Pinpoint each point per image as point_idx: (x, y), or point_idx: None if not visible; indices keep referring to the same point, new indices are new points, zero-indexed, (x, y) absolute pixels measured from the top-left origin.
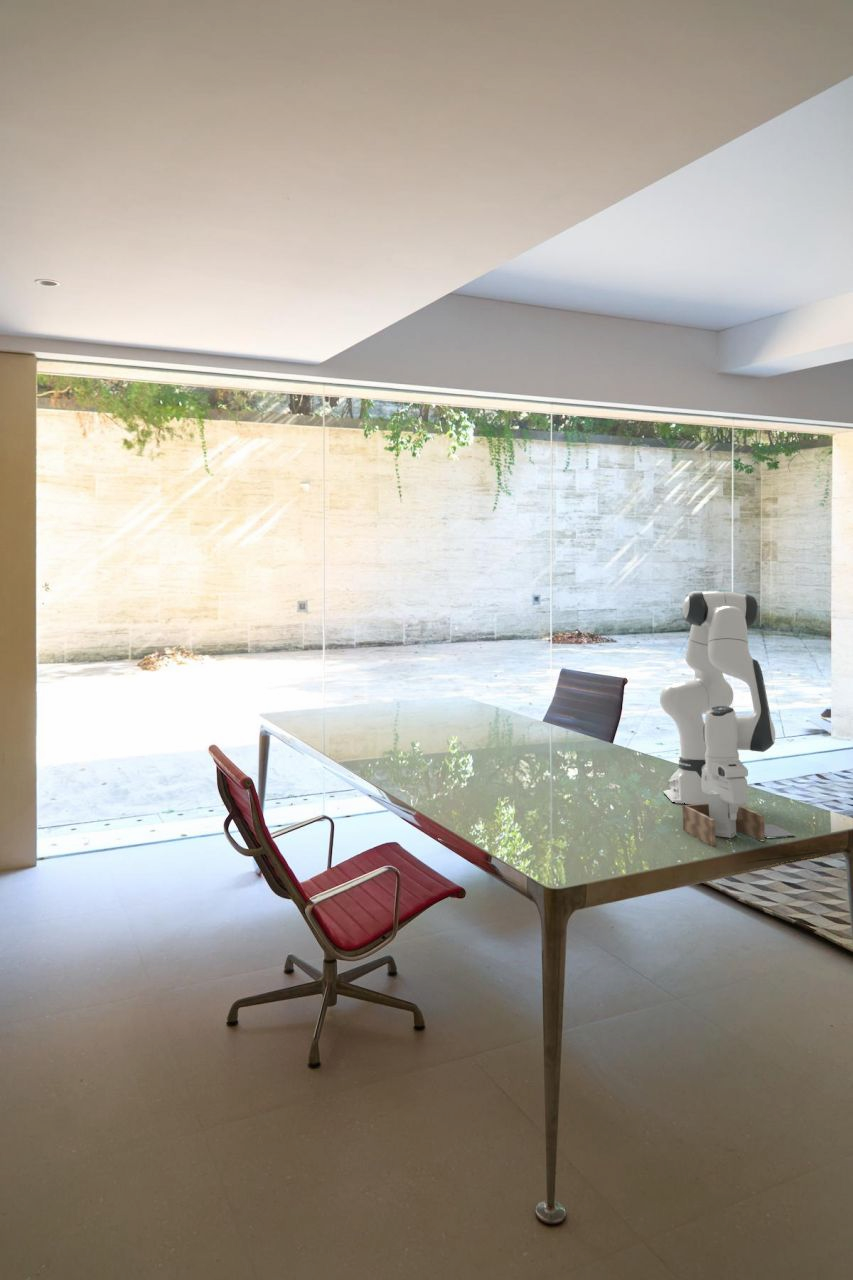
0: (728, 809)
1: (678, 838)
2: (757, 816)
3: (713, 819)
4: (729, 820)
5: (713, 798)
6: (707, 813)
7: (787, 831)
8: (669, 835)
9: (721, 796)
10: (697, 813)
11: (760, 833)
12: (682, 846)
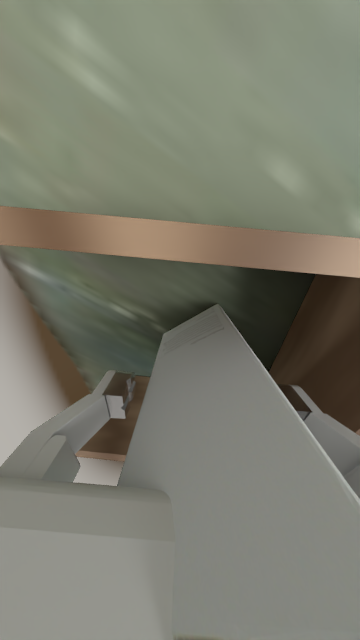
0: (137, 420)
1: (248, 147)
2: (97, 443)
3: None
4: (153, 371)
5: (249, 495)
6: (328, 371)
7: None
8: (322, 126)
9: (101, 596)
10: (236, 227)
11: None
12: (110, 70)
